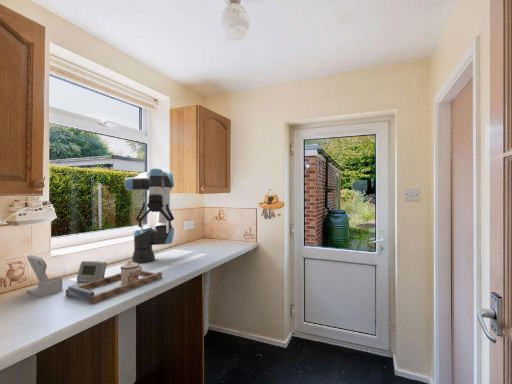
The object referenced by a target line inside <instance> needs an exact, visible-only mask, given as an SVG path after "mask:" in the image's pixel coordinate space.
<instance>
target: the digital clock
mask: <svg viewBox="0 0 512 384" xmlns="http://www.w3.org/2000/svg"><path fill="white" fill-rule="evenodd" d="M106 270H107V262H106V261H100V260H82V261H81V262H80V266H79V268H78V273H77V276H76V281H77V282H78V283H79V282H81V283H89V282H92V281H95V280H99V279H102V278H105V274H106Z"/></svg>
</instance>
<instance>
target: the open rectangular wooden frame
mask: <svg viewBox="0 0 512 384" xmlns="http://www.w3.org/2000/svg"><path fill="white" fill-rule="evenodd" d="M139 276H143V277H142V278H139V279H138V280H135V281H133V282H128V283H127V284H122V285H119V286H116V287H114V288H109V289H107V290H104V291H101V292H99V293H96V294H95V290H94V291H93V290H92V289H96V288H99V287H101V286H104V285H110V284H112V283H113V282H116V281H121V272H119V273H114V274H112V275H108V276H104V278H102V279H99V280H95V281H92V282H89V283H87V282H84V283H83V284H80V285H70V286H68V288H66V289H65V296H66V297H69V298H73V299H75V300H77V301H78V300H79V301H81V302H85V303H88V304H91V305H94V304H96V303H99V302H102V301H104V300H107V299H110V298H113V297H115V296H118V295H120V294H123V293H125V292H129V291H131V290H134V289H136V288H139V287H141V286H145V285H147V284H149V283H152V282H155V281H157V280H160V279H162V278H163V272H160V271H158V272H153V271H152V272H151V271H145V270H141V273H140V274H139Z"/></svg>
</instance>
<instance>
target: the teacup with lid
mask: <svg viewBox="0 0 512 384" xmlns="http://www.w3.org/2000/svg"><path fill="white" fill-rule="evenodd" d="M141 271H143V270H142V266H140V263H134V262H132V259H129V260H128V261H127V262H126V263H124V264H122V265H120V273H121V279H120V283H121V284H122V285H124V284H127V283H128V282H133V281H135V280H138V279H140V277H139V276H140V275H139V274H140V273H141Z"/></svg>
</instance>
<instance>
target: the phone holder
mask: <svg viewBox="0 0 512 384" xmlns="http://www.w3.org/2000/svg"><path fill="white" fill-rule="evenodd" d="M26 259H27V260H28V263H29V264H30V267H31V269H32V270H33V272H34V274H35V276H36V279H37V280H38V283H37V286H34V287H30V288H27V290H26V291H27V292H28V291H29V292H28V293H30V292H31V294H32V293H33V294H32V295H34V294H35V295H34V296H37V298H45V297H48V296H51V295H54V294H57V293H59V294H60V293H61V292H64V288H63V277H61V276H59V277H54V278H48V275H47V273H46V271H47V267H48V265H47V263H46V261H45V260H44V259H43V258H42V257H39V256H37V255H32V254H30V255H28V256H27V257H26Z"/></svg>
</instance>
